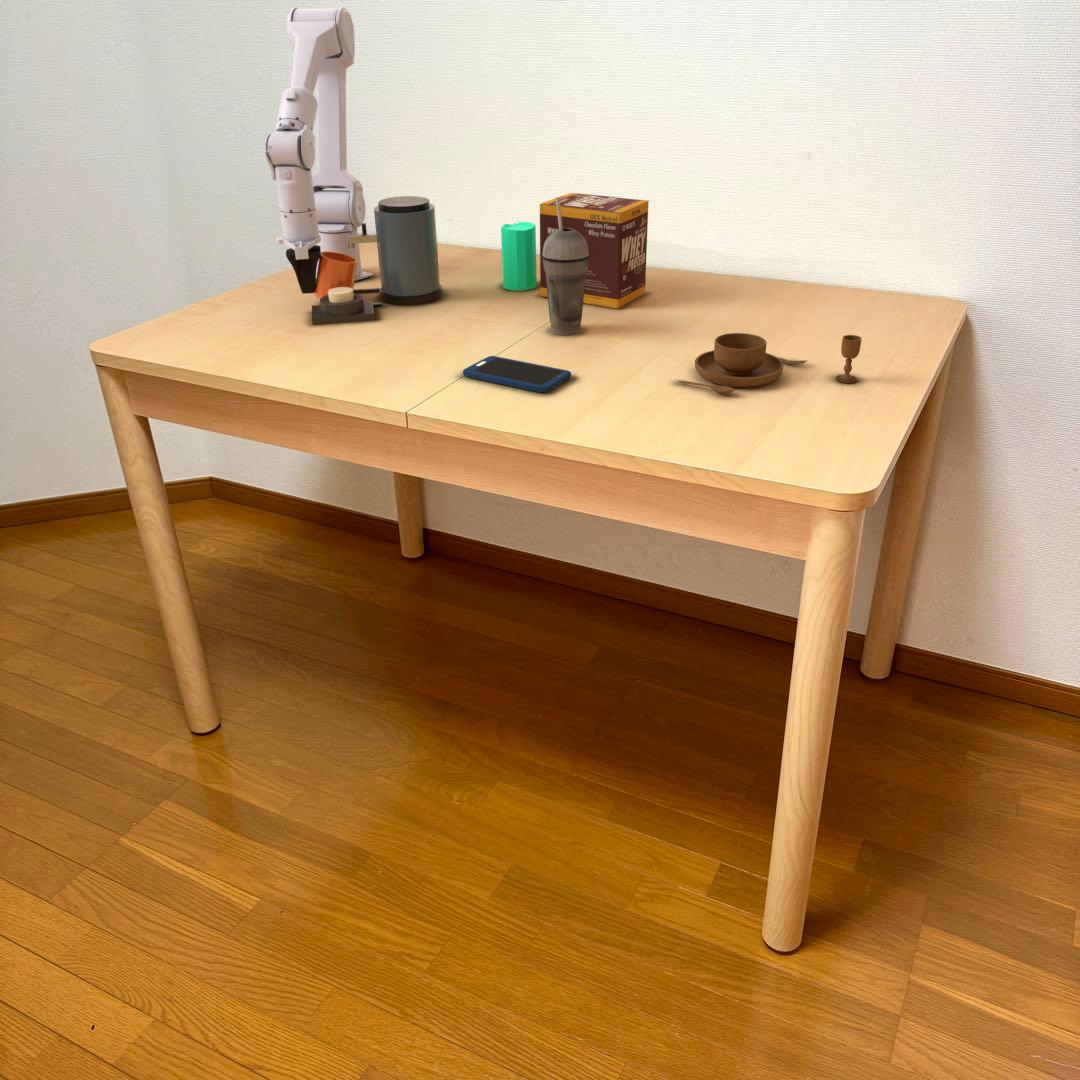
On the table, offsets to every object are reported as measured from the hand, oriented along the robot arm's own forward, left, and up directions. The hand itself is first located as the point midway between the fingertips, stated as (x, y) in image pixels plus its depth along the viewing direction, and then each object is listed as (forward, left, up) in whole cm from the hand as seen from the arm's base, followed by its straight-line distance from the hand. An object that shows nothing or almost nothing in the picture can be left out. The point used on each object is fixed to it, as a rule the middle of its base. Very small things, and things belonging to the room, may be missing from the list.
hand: (308, 292), depth 172 cm
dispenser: (+8, +10, -2) cm, 13 cm away
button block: (+10, -1, -2) cm, 10 cm away
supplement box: (+36, +32, -2) cm, 48 cm away
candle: (+22, +29, -2) cm, 37 cm away
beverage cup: (+44, +14, -2) cm, 46 cm away
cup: (+2, +3, -1) cm, 4 cm away
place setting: (+79, +13, -2) cm, 80 cm away
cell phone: (+51, -6, -2) cm, 51 cm away
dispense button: (+10, -1, 0) cm, 10 cm away
